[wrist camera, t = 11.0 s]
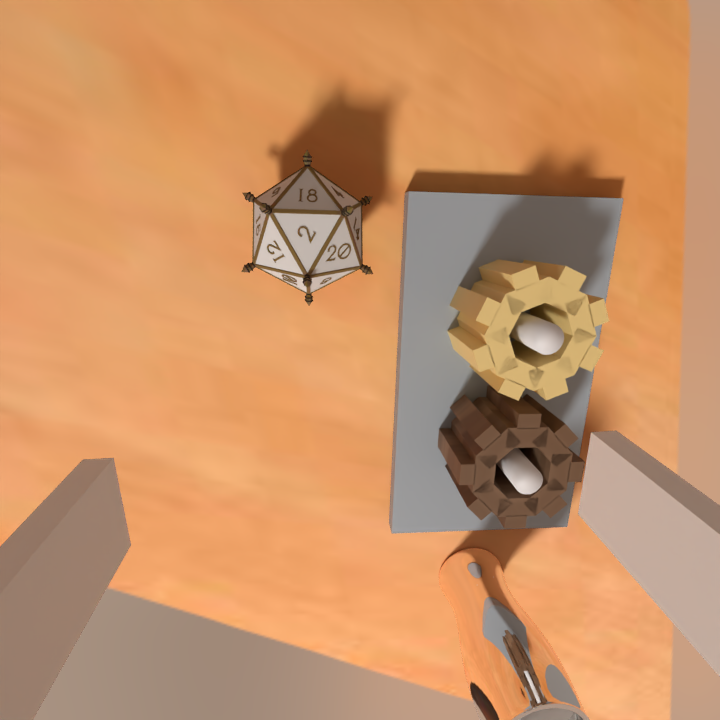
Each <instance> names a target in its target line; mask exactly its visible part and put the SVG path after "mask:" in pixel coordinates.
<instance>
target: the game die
mask: <svg viewBox="0 0 720 720" xmlns="http://www.w3.org/2000/svg"><path fill="white" fill-rule="evenodd" d="M303 157H304V160H303V162H304V164H305V166H304V167H303V168H301V169H300V170H298V171H296V172H295V173H293V174H292V175H290V176H289V177H287V178H286V179H284V180H283V181H281V182H279V183H278V184H276V185H275V186H273V187H272V188H270V189H269V190H267V191H266V192H264V193H262V194H261V195H259V196H258V197H256V198H255V197H254V196H253V194H251V192H248V193H243V195H244V196H245V199H246V200H248V201H249V202H253V262H252V263H248V264H247V265H244V268H243V270H242V272H249V273H250V271H251V270H252V271H253V269H254V268H255V267H257V268H258V269H260V270H262V271H264V272H266V273H268V274H270V275H272V276H274V277H276V278H278V279H280V280H281V281H283V282H285V283H287V284H289V285H291V286H293V287H295V288H297V289H299V290H301V291H303V292H305V293H306V296H305V298H306V299H305V301H306V302H307V303H308V305H310V303H311V302H312V301H313V300H312V298H313V296H312V295H311V293H313V292H315V291H317V290H319V289H321V288H323V287H325V286H327V285H329V284H331V283H333V282H335V281H337V280H339V279H341V278H343V277H345V276H347V275H349V274H351V273H353V272H355V271H357V270H359V269H361V270H362V271H363V272H364V273H366V274H373V272H372V270H371V268H370V267H368V266H367V265H363V264H362V205H365V206H366V204H369V203H370V200H371V198H372V197H367V196H365V197H364V198H362V199H361V200H360V201H359V200H357V199H356V198H354V197H353V196H352V195H350V194H349V193H347V192H346V191H344V190H343V189H342V188H340V187H339V186H337V185H336V184H335V183H333V182H332V181H330V180H329V179H328V178H326V177H325V176H323V175H322V174H321V173H319V172H318V171H316V170H315V169H313V168H312V167H311V166H310V164H311V162H312V161H311V158H312V156H311V155H310V153H309V152H308V150H307V151H306V153H305V155H304V156H303Z"/></svg>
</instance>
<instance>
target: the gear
mask: <svg viewBox="0 0 720 720" xmlns="http://www.w3.org/2000/svg"><path fill="white" fill-rule="evenodd" d="M479 271H480V274H481V277H482V280H481V281H478V282H476V283H474V285H473V287H472V289H471V290H468V289H466V288H463V287H461V286H458V288H457V290H456V292H455V294H454V297H453V299H452V301H451V303H450V306H451V307H453V308H455V309H456V310H458V311H460V313H459V315H458V317H457V320H458V323H459V326H458V327H455V328H453V329H450V330H448V334H449V337H450V340H451V343H452V346H453V349H454V350H455V351H456V352H457V353H458V354H459V355H460V356H462V357H463V358H464V359H465V360H466V361H467V362H468V363H470V366H469V367H471V368H472V369H473V370H474V371H475V372H476V373H477V374H478V375H479V376H481V377H482V378H483V379H484V380H485V381H486V382H487V383H488V384H489V385H490V386H492V387H493V388H494V389H495V390H496V391H497V392H499V393H501V394H503V395H506V396H508V397H511V398H513V399H515V400H518V401H519V399H520V397H521V395H522V393H523V391H524V390H525V388H528V389H530V390H532V391H534V392H536V393H537V394H538V395H540V396H541V397H542V398H544V399H545V400H549V399H551V398H554V397H556V396H559V395H562V394H564V393H567V392H569V391H568V387H567V384H566V380H565V379H566V378H568V377H571V376H573V375H575V373H576V371H577V370H578V368H579V367H582V368H584V369H586V370H588V371H591V372H592V370H593V369H594V367H595V365H596V363H597V362H598V360H599V358H600V357H601V355H602V353H603V351H604V350H602V349H599V348H597V347H595V346H593V345H592V343H593V342H594V340H595V338H596V336H597V335H596V331H595V327H596V326H599V325H601V324H604V323H606V322H609V319H608V314H607V310H606V305H605V301H604V298H600V297H596V296H592V295H587V294H584V293H582V292H580V291H579V290H580V288H581V286H582V284H583V282H584V280H585V279H586V277H587V276H585V275H583V274H581V273H579V272H577V271H575V270H573V269H571V268H569V267H567V266H563V265H557V264H550V263H543V262H536V261H529V260H524V261H523V263H519V262H512V261H506V260H500V259H498V260H495V261H493V262H490V263H488V264H485V265H483V266H480V267H479ZM528 309H529V311H530V314H531V315H533V316H535V317H538V318H540V319H543V320H546V321H548V322H551V323H553V324H556V325H558V326H559V327H560V328H561V329H562V330H563V333H564V342H563V344H562V346H561V348H560V349H559V350H558V351H556V352H555V353H553V354H550V355H544V354H541V353H539V352H537V351H535V350H533V349H531V348H530V347H528V346H526V345H524V344H523V343H521V342H519V341H517V340H515V341H512V342H511V341H510V338H509V335H510V333H511V331H512V329H513V327H514V325H515V323H516V321H517V319H518V317H519V316H520V314H521V312H523V311H526V310H528Z"/></svg>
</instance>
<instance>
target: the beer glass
mask: <svg viewBox="0 0 720 720" xmlns="http://www.w3.org/2000/svg"><path fill="white" fill-rule="evenodd" d="M439 585H440V588H441V590H442V592H443V594H444V595H445V597H446V599H447V600H448V602H449V603H450V605H451V607H452V609H453V612H454V614H455V618H456V622H457V628H458V634H459V641H460V648H461V654H462V661H463V666H464V670H465V675H466V680H467V683H468V686H469V690H470V693H471V697H472V699H473V702H474V705H475V707H476V710H477V713H478V716H479V718H480V720H589V718H588V716H587V715H586V713H585V710H584V708H583V706H582V704H581V702H580V700H579V697H578V695H577V693H576V691H575V689H574V687H573V685H572V683H571V680H570V678H569V676H568V675H567V673H566V671H565V669H564V667H563V665H562V663H561V661H560V659H559V658H558V656H557V655H556V653H555V651H554V650H553V648H552V646H551V645H550V643H549V642H548V640H547V639H546V638H545V636H544V635H543V633H542V632H541V631H540V629H539V628H538V627H537V625H536V624H535V623H534V622H533V620H532V619H531V618H530V617H529V615H528V614H527V613H526V612H525V611H524V609H523V608H522V607H521V606H520V605H519V603H518V602H517V601H516V599H515V598H514V597H513V595H512V594H511V592H510V590H509V588H508V586H507V584H506V581H505V578H504V574H503V571H502V567H501V565H500V562H499V561H498V559H497V558H496V557H495V556H494V555H493V554H492V553H491V552H489V551H487V550H484V549H480V548H468V549H464V550H461V551H458V552H456V553H455V554H453V555H452V556H450V557H449V558H448V559H447V560H446V561H445V562H444V564H443V565H442V567H441V569H440V572H439Z"/></svg>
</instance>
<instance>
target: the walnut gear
mask: <svg viewBox="0 0 720 720" xmlns="http://www.w3.org/2000/svg"><path fill="white" fill-rule="evenodd" d="M450 409H451V410H452V411H453V413H454V414H455V415H456V417H455V418H454V419H453V420H452V422H451V428H439V435H438V448H439V450H440V451H441V453H442V455H443V457H444V459H445V460H446V462H447V464H446V465H445V467H446V469H447V471H448V472H449V474H450V476H451V478H452V480H453V482H454V484H455V485H456V487H457V489H458V491H459V493H460V495H461V497H462V498H463V500H464V502H465V504H466V506H467V508H469V509H470V510H471V511H472V512H473V513H474V514H475V515H476V516H477V517H478V518H479V519H480V520H483V519H484V518H485V517H486V516H487V515H488V514H490V513H491V512H492V513H494V514H495V515H496V516H497V518H498V519H499V521H500V522H501V524H502V526H503V527H504V529H509V528H525V527H526V520H527V516H536V515H537V514H538V513H540V512H541V511H542V510H543V511H544V512H545V513H546V514H547V515H548V516H549V517H550V518H551V517H553V516H554V515H555V514H556V513H557V512H559V511H560V510H561V509H562V508H563V507H565V506H566V505H567V503H566V502H565V501H564V500H563V499H562V498H561V497H560V495H561V494H563V493H564V492H565V491H566V490H567V485H568V482H581V480H582V474H583V469H584V463H585V462H584V461H583V460H582V459H581V458H580V457H579V456H577V455H576V454H575V453H574V452H573V451H572V450H571V449H569V448H568V447H569V446H570V445H572V444H573V443H574V442H575V441H576V440H577V439H579V438H578V437H577V436H576V435H575V434H574V433H573V432H572V431H571V429H570V428H569V427H568V426H567V425H566V424H565V423H564V422H563V421H561V420H560V419H559V418H557V417H556V416H555V415H554V414H552V413H551V412H550V411H548V410H547V409H546V408H545V407H543V406H542V405H541V404H540V403H538V402H537V401H536V400H534V399H533V398H532V397H531V396H529V395H528V394H526V395H525V396H524V397H523V398H522V397H520V399H519V401H518V400H515V399H513V398H511V397H508V396H506V395H503V394H501V393H499V392H497V391H496V390H495V389H494V388H493V387H492V386H490V385H487V394H486V397H478V398H477V399H476V400H475V401H473V402H471V401H470V400H469V398H468V397H467V396H466V395H465V394H464V395H463V396H462V397H461V398H460V399H459V400H458V401H457V402H455V403H454V404H453V405H452V406H451V407H450ZM514 448H518V449H519V450H520V451H521V452H522V453H523V454H524V455H525V456H526V457H527V458H528V460H529V461H530V462H531V463H532V464H533V465H534V466H535V467H536V468H537V469H538V470H539V471H540V473H541V474H542V476H543V482H542V485H541V487H540V488H539V489H538V490H537V491H536V492H534V493H532V494H522V493H520V492H518V491H517V490H516V488H515V487H514V486H513V484H512V483H511V482H510V480H509V479H508V478H507V477H506V475H505V474H504V473H503V471H502V470H501V469H500V467H499V466H498V465H497V464H496V463H497V462H498V461H500V460H501V459H502V458H503V457H504V456H505V455H507V454H508V453H509V452H510V451H511V450H512V449H514Z"/></svg>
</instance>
